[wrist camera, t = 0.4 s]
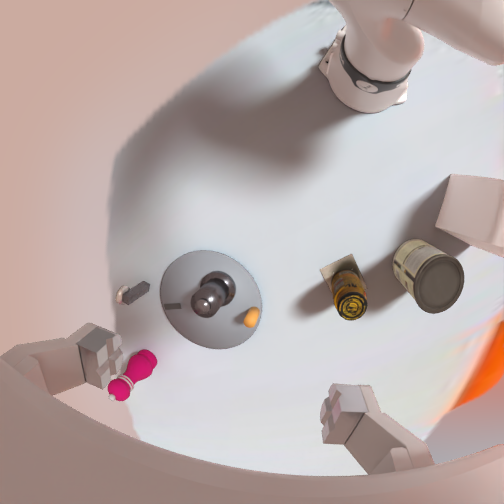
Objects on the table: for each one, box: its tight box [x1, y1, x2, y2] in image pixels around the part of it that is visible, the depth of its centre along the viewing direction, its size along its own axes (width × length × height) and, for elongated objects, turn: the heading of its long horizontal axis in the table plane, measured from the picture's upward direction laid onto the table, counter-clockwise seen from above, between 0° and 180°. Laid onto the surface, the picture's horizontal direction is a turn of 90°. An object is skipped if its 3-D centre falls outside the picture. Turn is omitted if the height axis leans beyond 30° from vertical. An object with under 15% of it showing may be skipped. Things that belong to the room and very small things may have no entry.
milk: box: [435, 174, 504, 258], centre depth 33 cm, size 12×12×26 cm
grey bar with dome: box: [116, 281, 150, 305], centre depth 60 cm, size 4×3×10 cm
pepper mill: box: [108, 350, 157, 401], centre depth 61 cm, size 7×7×20 cm
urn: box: [190, 271, 236, 318], centre depth 53 cm, size 8×8×10 cm
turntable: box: [161, 250, 262, 349], centre depth 58 cm, size 24×24×6 cm
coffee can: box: [392, 239, 464, 314], centre depth 43 cm, size 10×10×14 cm
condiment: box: [320, 254, 367, 320], centre depth 48 cm, size 7×8×12 cm
